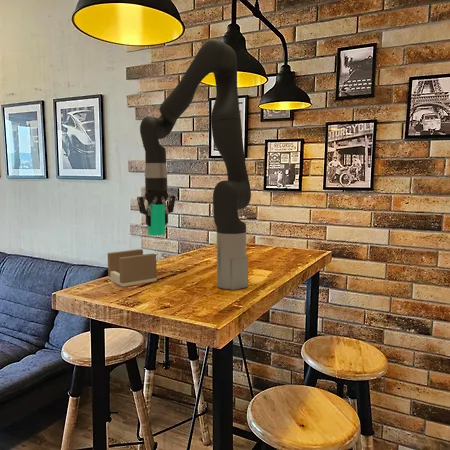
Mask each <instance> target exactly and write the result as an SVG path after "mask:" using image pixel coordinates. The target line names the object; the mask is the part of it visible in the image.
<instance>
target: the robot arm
mask: <svg viewBox="0 0 450 450" xmlns="http://www.w3.org/2000/svg"><path fill="white" fill-rule="evenodd" d="M237 58H238V57H237V55H236V52H235V50H234V49H233V48H232V47H231V46H230V45H229V44H227V43H225V42H223V41H222V40H220V39H217V38H211V39H208V40H207V41H205V42H204V43H203V45H202V46H201V47H200V48H199V49H198V52H197V53H196V54H195V56H194V58H193V60H192V61H191V63H190V64H189V66H188V68H187V70H186V71H185V73H184V74H183V76H182V78H180V81H179V82H178V83H177V85H176V86H175V87H174V88H173V90H172V91H171V93H169V94H168V96H167V97H166V98H165V99H164V100H163V102H162V103H160V106H159V112H160V116H159V117H156V116H152V115H150V116H145V117H143V119H142V120H141V121H140V126H139V134H140V137H141V142H142V145H143V148H144V152H145V153H144V157H145V158H144V159H145V163H144V164H145V165H144V166H145V167H144V186H145V187H144V190H145V193H144V195H141V196H137V197H136V201H137V205H138V208H139V209H138V210H139V213H140V214H142V215H144V216H145V224H146V227H148V226H149V227H150V226H151V216H150V215H151V209H152V204H155V205H160V204H164V207H165V226H167V225H168V223H169V214H171V213H173V212H174V210H175V203H176V196H175V195H170V194H168V169H167V168H168V166H167V150H166V148H165V147H164V146H163V145H161V143H160V141H159V140H163V139H165V138H167V137H168V136H169V135H170V133H171V132H172V131H173V129H174V127H175V125H176V124H177V121H178V119H179V118H180V117H181V116H182V115H184V114H183V113H185V112H186V110H187V109H188V108H189V106H191V104H192V102H193V99H194V97H195V95H196V91H197V89H198V87H199V85H200V83H202V81H203V80H204V79H205V78H206V77H207V76H208V75H210V74H211V73H213V76H214V80H215V89H216V90H215V91H216V93H215V95H216V96H215V100H214V102H213V103H214V104H213V106H212V107H213V108H212V110H211V115H210V126H211V133H212V139H213V144H214V145H215V147H216V149H217V151H218V154H219V155H220V156H221V158H222V160H223V163H224V164H225V165H224V166H225V168H226V174H227V175H226V176H227V180H221V181H219V182H218V183H217V184H216V185H215V187H214V190H213V193H212V206H213V207H212V208H213V221H214V224H215V227H216V286H217V288H220V289H225V290H231V291H235V290H239V289H244V288H248V287H249V258H248V256H247V224H246V222H244V221H242V220H241V219H240V218H239V211H238V210H244V209H245V208H247V207H249V205H250V202H251V199H252V198H251V197H252V190H251V184H250V179H249V174H248V170H247V164H246V157H245V149H244V147H245V146H244V141H243V140H244V139H243V129H242V119H241V113H240V112H241V111H240V103H239V102H240V101H239V92H238V91H239V90H238V59H237ZM167 201H168V203H167ZM145 202H147V203H146V205H145ZM147 205H151V206H150V207H147ZM148 208H149V210H148Z"/></svg>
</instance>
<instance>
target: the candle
mask: <svg viewBox="0 0 450 450" xmlns="http://www.w3.org/2000/svg"><path fill="white" fill-rule="evenodd" d="M146 206H147V207H150V206H151V205H147V204H146ZM148 210H149V208H148ZM150 216H151V226H150V227H149V226H147V234H148V235H149V236H163V235H166V225H165V207H164V204H160V205H155V204H152V209H151V215H150Z"/></svg>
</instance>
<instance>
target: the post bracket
mask: <svg viewBox="0 0 450 450" xmlns="http://www.w3.org/2000/svg"><path fill="white" fill-rule="evenodd" d="M157 270H158V269H157V254H156V253H146V254H144V250H143V249H141V248H138V249H132V250H131V249H129V250H121V251H113V252H112V251H111V252H107V272H108V273H107V275H108V280H109V281H111V282H113V283H115V284H117V285H119V286H120V287H128V286H135V285H139V284H141V285H142V284H147V283H152V282H157V281H158V280H157V279H158V278H157V275H158V274H157Z"/></svg>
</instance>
